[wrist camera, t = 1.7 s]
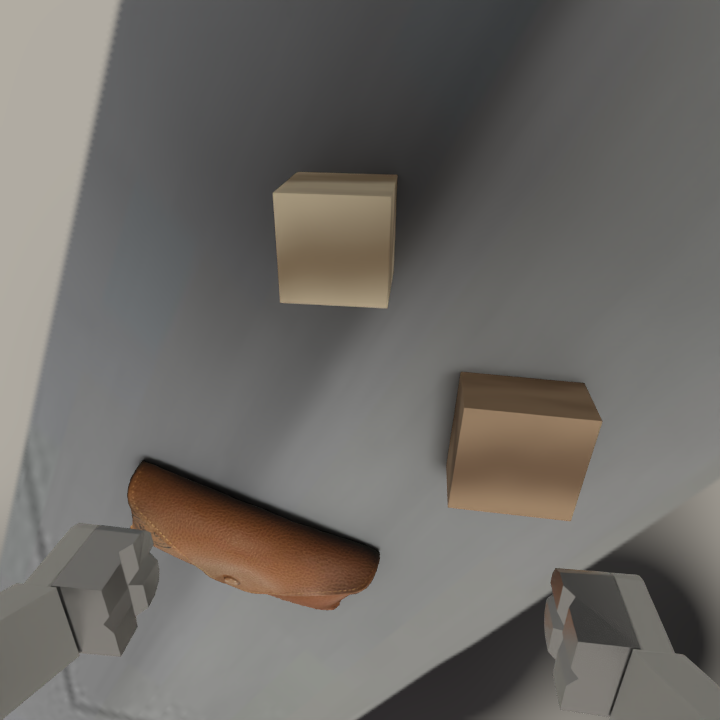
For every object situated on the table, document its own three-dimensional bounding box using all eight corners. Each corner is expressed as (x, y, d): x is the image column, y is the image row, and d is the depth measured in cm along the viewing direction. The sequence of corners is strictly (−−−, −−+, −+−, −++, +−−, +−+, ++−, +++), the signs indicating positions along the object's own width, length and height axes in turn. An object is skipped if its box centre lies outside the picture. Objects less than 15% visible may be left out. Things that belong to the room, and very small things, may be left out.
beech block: (297, 171, 27) (272, 192, 23) (397, 174, 27) (391, 196, 23) (302, 267, 30) (280, 302, 25) (393, 271, 29) (387, 308, 25)
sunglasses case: (122, 533, 42) (87, 567, 35) (158, 447, 42) (131, 465, 35) (340, 613, 43) (347, 660, 37) (374, 530, 43) (387, 562, 37)
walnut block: (460, 369, 32) (464, 407, 28) (583, 381, 31) (602, 421, 28) (446, 463, 35) (447, 507, 32) (556, 474, 35) (570, 521, 31)
